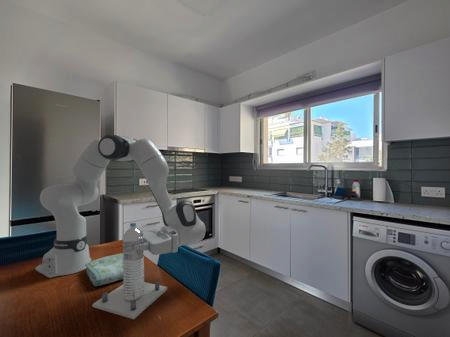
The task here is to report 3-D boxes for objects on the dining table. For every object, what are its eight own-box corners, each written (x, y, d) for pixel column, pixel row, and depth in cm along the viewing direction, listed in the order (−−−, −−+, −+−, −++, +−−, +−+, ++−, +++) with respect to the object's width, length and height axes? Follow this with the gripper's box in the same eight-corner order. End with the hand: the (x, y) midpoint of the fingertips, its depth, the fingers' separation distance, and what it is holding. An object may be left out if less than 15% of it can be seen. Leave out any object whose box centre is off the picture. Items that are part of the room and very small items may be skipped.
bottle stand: (92, 306, 70) (92, 296, 70) (131, 281, 86) (131, 272, 86) (133, 319, 64) (133, 307, 64) (166, 289, 80) (167, 280, 80)
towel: (126, 260, 108) (126, 249, 108) (143, 275, 92) (143, 263, 92) (83, 271, 95) (84, 260, 95) (94, 291, 80) (94, 277, 80)
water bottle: (137, 289, 79) (136, 220, 80) (148, 294, 75) (147, 222, 76) (119, 297, 73) (118, 224, 75) (129, 303, 69) (128, 226, 71)
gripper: (158, 224, 91) (123, 229, 83) (179, 235, 75) (138, 243, 67) (158, 238, 91) (123, 245, 83) (179, 253, 75) (138, 263, 67)
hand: (130, 244), depth 75 cm, fingers closed on water bottle, 7 cm apart
